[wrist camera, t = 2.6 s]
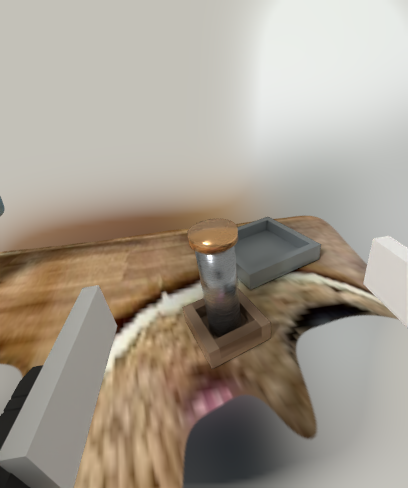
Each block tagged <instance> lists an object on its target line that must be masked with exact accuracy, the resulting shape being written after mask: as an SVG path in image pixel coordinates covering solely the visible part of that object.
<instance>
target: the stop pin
mask: <svg viewBox="0 0 408 488" xmlns="http://www.w3.org/2000/svg"><path fill="white" fill-rule="evenodd" d="M187 235H188V240H189V245H190V247H191V248H192V249H193V250H195V253H196V258H197V264H198V269H199V275H200V280H201V286H202V291H203V296H204V302H205V307H206V313H207V318H208V324H209V329H210V331H211V333H212V334H214V335H215V336H217V337H221V336H223V335H225V334H227V333H229V332H231V331H233V330H235V329H237V328H239V327H241V314H240V303H239V292H238V281H237V270H236V258H235V247H234V245H235V244H236V243H237V241H238V228H237V225H236V224H235V223H234V222H232V221H229V220H226V219H210V220H205V221H202V222H199V223H197V224H195V225H193V226H192V227H191V228H190V229H189V230H188V233H187Z"/></svg>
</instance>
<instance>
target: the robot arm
mask: <svg viewBox="0 0 408 488" xmlns="http://www.w3.org/2000/svg"><path fill="white" fill-rule="evenodd" d="M3 213H4V205H3V202H2V199H1V197H0V216H1V215H2V214H3ZM363 284H364V285H365V286H366V287H367V288H368V289H369V290H370V291H371V292H372V293H373V294H374V295H375V296H376V297H377V298H378V299H379V300H380V301H381V302H382V303H383V304H384V305H385V306H386V307H387V308H388V309H389V310H390V311H391V312H392V313H393V314H394V315H395V316H396V317H397V318H398V319H399V320H400V321H401V322H402V323H403V324H404V325H405V326H406V327H407V328H408V248H407V247H405V246H404V245H402V244H401V243H399V242H397V241H396V240H395V239H393V238H391V237H390V236H386V237H380V238H374V239H373V242H372V246H371V251H370V256H369V260H368V264H367V269H366V274H365V278H364V283H363ZM116 328H117V325H116V322H115V320H114V318H113V316H112V314H111V311H110V309H109V307H108V305H107V302H106V300H105V298H104V296H103V294H102V291H101V289H100V287H99V285H97V286H91V287H86V288H82V290H81V292H80V294H79V296H78V298H77V300H76V302H75V304H74V306H73V308H72V310H71V312H70V314H69V316H68V318H67V320H66V322H65V324H64V326H63V328H62V330H61V332H60V334H59V336H58V338H57V340H56V342H55V344H54V346H53V348H52V350H51V351H50V353H49V355H48V357H47V359H46V361H45V363H44V365H42V366H36V367H33V368H32V369H31V370H30V371H29V372H28V373H27V374H26V375H25V376H24V377H23V378H22V380H21V381H20V382H19V384H18V386H17V388H16V389H15V391H14V393H13V395H12V397H11V400H9V402H8V403H7V405H6V407H5V409H4V413H3V414H1V416H0V488H73V487H74V484H75V480H76V476H77V473H78V469H79V465H80V462H81V458H82V454H83V450H84V447H85V443H86V439H87V436H88V432H89V428H90V424H91V421H92V417H93V413H94V410H95V406H96V402H97V399H98V395H99V391H100V387H101V384H102V380H103V376H104V373H105V369H106V365H107V362H108V358H109V354H110V350H111V347H112V343H113V339H114V336H115V332H116Z"/></svg>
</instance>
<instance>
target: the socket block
mask: <svg viewBox="0 0 408 488" xmlns="http://www.w3.org/2000/svg"><path fill="white" fill-rule="evenodd" d="M238 292H239V303H240V314H241V327H239V328H237V329H235V330H233V331H231V332H229V333H227V334H225V335H223V336H221V337H217V336H215V335H214V334H212V333H211V331H210V329H209V324H208V318H207V313H206V307H205V302H204V298H203V299H201V300H198V301H196V302H194V303H191V304H189V305H187V306H184V307H182V308H183V312H184V316H185V320H186V323H187V325H188V326H189V328H190V330H191V332H192V334H193V335H194V337H195V339H196V341H197V343H198V344H199V346H200V348H201V350H202V352H203V354H204V355H205V357H206V359H207V361H208V363H209V364H210V366H211V368H212V369H213V368H215V367H217V366H219V365H221V364H223V363H225V362H227V361H228V360H230V359H232V358H234V357H236V356H238V355H240V354H242V353H244V352H245V351H247V350H249V349H251V348H253V347H255V346H257V345H259V344H260V343H262V342H264V341H266V340H268V339H270V338H271V322H270V321H269V320H268V319H267V318H266V317H265V316H264V315H263V314H262V313H261V312H260V311H259V310H258V309H257V308H256V307H255V305H254V304H253V303H252V302H251V301H250V300H249V299H248V298H247V297H246V296H245V295H244V294H243V293H242V292H241V291H240V290H239V289H238Z"/></svg>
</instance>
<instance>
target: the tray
mask: <svg viewBox="0 0 408 488" xmlns="http://www.w3.org/2000/svg"><path fill="white" fill-rule="evenodd" d="M237 228H238V241H237V243H236V244H235V245H234V247H235V258H236V270H237V277H238V278H239V279H240V280H241V281H242V282H243V283H244V284H245V285H246V286H247V287H248V288H249V289H250V290H251V289H253V288H255V287H257V286H260V285H262V284H264V283H266V282H269V281H271V280H273V279H275V278H278V277H280V276H282V275H284V274H287V273H289V272H291V271H293V270H295V269H298V268H300V267H302V266H304V265H307V264H309V263H311V262H313V261H316V260H318V259H319V256H320V247H321V244H319V243H317V242H315V241H313V240H312V239H310V238H308V237H306V236H304V235H302V234H300V233H298V232H296V231H294V230H293V229H291V228H289V227H287V226H285V225H283V224H281V223H279V222H277V221H275V220H274V219H272V218H270V217H266V218H263V219H260V220H257V221H254V222H252V223H249V224H246V225H243V226H240V227H237Z"/></svg>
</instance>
